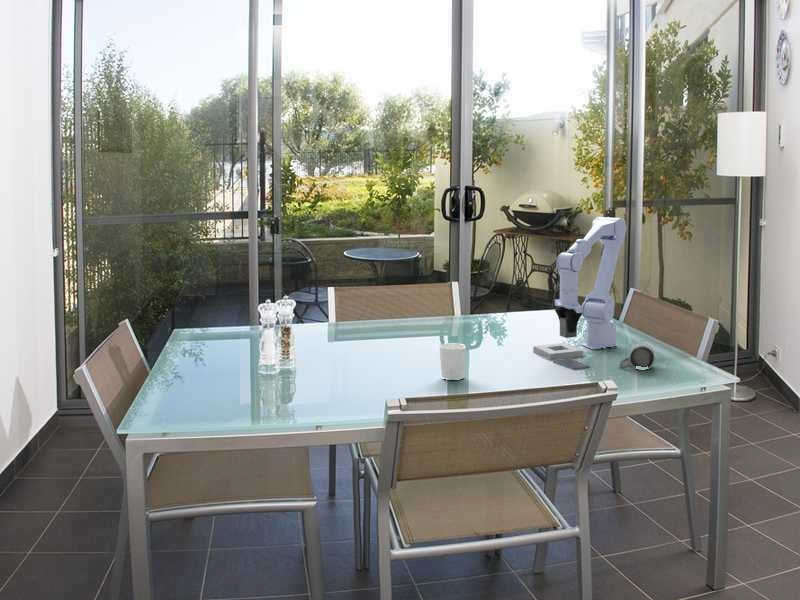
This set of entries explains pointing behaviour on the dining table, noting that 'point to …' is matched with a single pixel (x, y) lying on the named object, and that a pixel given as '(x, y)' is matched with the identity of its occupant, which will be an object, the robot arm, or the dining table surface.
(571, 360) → the phone
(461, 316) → the dining table surface
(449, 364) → the white cup
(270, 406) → the dining table surface
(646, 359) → the ceramic mug
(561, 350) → the outlet plate
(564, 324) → the block
